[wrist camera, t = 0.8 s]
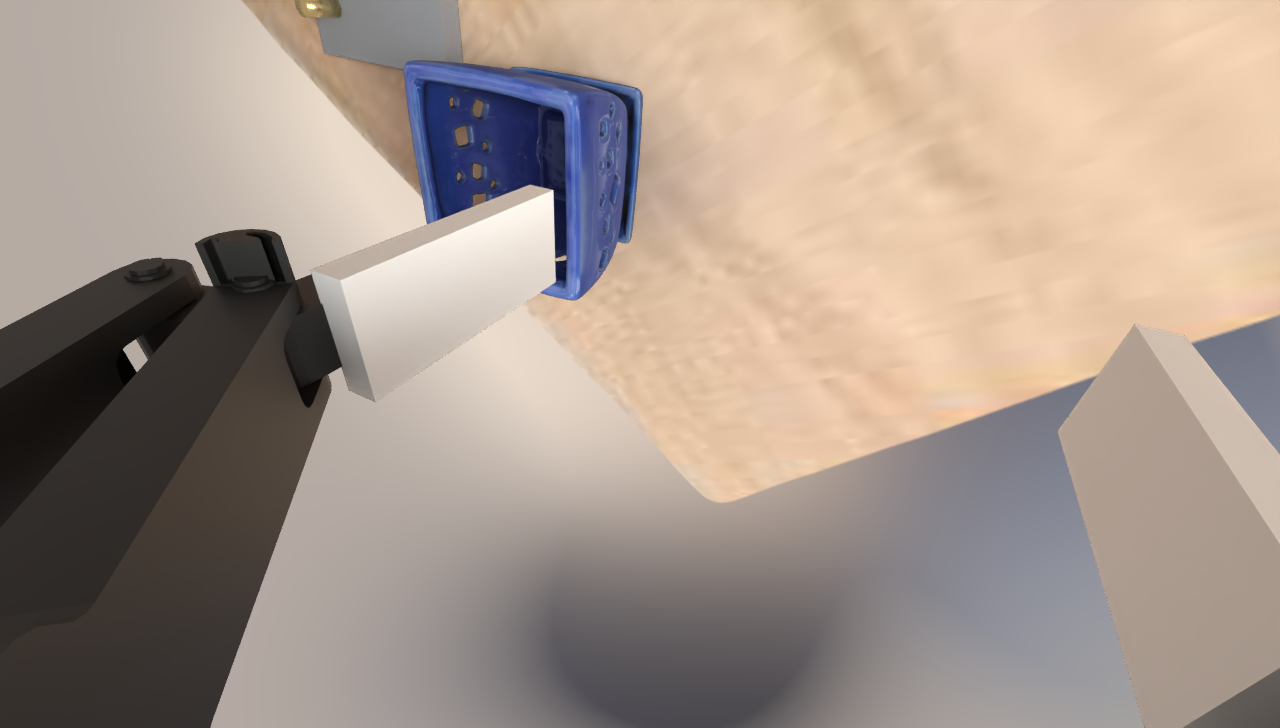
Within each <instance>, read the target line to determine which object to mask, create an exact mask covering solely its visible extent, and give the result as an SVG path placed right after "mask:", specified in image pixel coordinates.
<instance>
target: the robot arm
mask: <svg viewBox="0 0 1280 728" xmlns="http://www.w3.org/2000/svg"><path fill="white" fill-rule="evenodd" d="M195 246H196V248H197V250H198V253H199V255H200V257H201V259H202V262H203V264H204V266H205V268H206V270H207V272H208V275H209V277H210V279H211V281H212V284H213V286H204V285H201V283H200V281H199V279H198V277H197V275H196V272H195V270H194V268H193V266H192V264H190V263H189V262H187V261H185V260H178V259H162V258H151V259H144V260H139V261H137V262H134V263H132V264H130V265H127V266H124V267H122V268H119V269H117V270H114V271H112V272H110V273H108V274H107V275H104V276H102V277H100V278H99V279H97V280H95V281H93V282H91V283H89V284H87V285H85V286H83V287H82V288H79V289H77V290H75V291H74V292H72V293H70V294H68V295H66V296H64V297H62V298H60V299H58V300H56V301H54V302H52V303H50V304H48V305H46V306H45V307H43V308H41V309H39V310H37V311H35V312H33V313H31V314H29V315H27V316H25V317H23V318H22V319H20V320H18V321H16V322H14V323H12V324H10V325H8V326H6V327H4V328H2V329H0V728H210V727H211V723H212V720H213V717H214V714H215V712H216V709H217V706H218V703H219V701H220V698H221V695H222V692H223V689H224V687H225V684H226V681H227V678H228V676H229V673H230V670H231V667H232V665H233V662H234V659H235V656H236V653H237V650H238V648H239V645H240V642H241V639H242V637H243V634H244V631H245V628H246V626H247V623H248V620H249V617H250V615H251V612H252V609H253V606H254V603H255V601H256V598H257V595H258V592H259V590H260V587H261V584H262V581H263V579H264V575H265V573H266V570H267V568H268V565H269V562H270V559H271V556H272V553H273V551H274V548H275V545H276V542H277V540H278V537H279V534H280V532H281V529H282V526H283V523H284V520H285V518H286V515H287V512H288V509H289V507H290V504H291V501H292V498H293V495H294V493H295V490H296V487H297V484H298V482H299V478H300V476H301V473H302V470H303V468H304V465H305V462H306V459H307V457H308V454H309V451H310V448H311V445H312V443H313V440H314V437H315V434H316V432H317V429H318V426H319V423H320V421H321V418H322V415H323V412H324V410H325V407H326V404H327V401H328V398H329V395H330V393H331V382H330V379H329V376H328V374H329V373H331V372H333V371H335V370H336V369H338V368H340V367H342V370H343V373H344V376H345V380H346V383H347V386H348V389H349V391H352V392H354V393H356V394H358V395H361V396H363V397H365V398H367V399H369V400H372V401H374V402H377V401H378V400H380V399H381V398H382V397H384V396H385V395H387V394H389V393H390V392H392V391H393V390H395V389H396V388H398V387H399V386H400V385H402V384H404V383H405V382H407V381H408V380H409V379H411V378H412V377H414V376H416V375H417V374H419V373H420V372H422V371H423V370H425V369H426V368H428V367H429V366H431V365H432V364H433V363H435V362H437V361H438V360H440V359H441V358H443V357H444V356H446V355H447V354H449V353H450V352H452V351H453V350H454V349H456V348H458V347H459V346H461V345H462V344H463V343H465V342H467V341H468V340H470V339H471V338H473V337H474V336H476V335H477V334H479V333H480V332H482V331H483V330H485V329H486V328H488V327H489V326H490V325H492V324H494V323H495V322H496V321H498V320H500V319H501V318H503V317H504V316H505V315H507V314H509V313H510V312H512V311H513V310H514V309H516V308H518V307H519V306H521V305H522V304H524V303H525V302H527V301H528V300H530V299H531V298H533V297H534V296H536V295H537V294H539V293H540V292H542V291H543V290H545V289H546V288H548V287H549V286H551V285H552V284H554V283H555V282H556V273H555V235H554V197H553V190H551V189H546V188H542V187H538V186H533V185H528V186H525V187H523V188H520V189H518V190H515V191H513V192H510V193H507V194H505V195H502V196H500V197H497V198H494V199H492V200H489V201H487V202H484V203H481V204H479V205H476V206H474V207H471V208H469V209H466V210H463V211H461V212H458V213H456V214H453V215H450V216H448V217H445V218H443V219H440V220H438V221H435V222H432V223H430V224H427V225H425V226H422V227H420V228H417V229H414V230H412V231H409V232H407V233H404V234H401V235H399V236H396V237H394V238H391V239H389V240H386V241H383V242H381V243H379V244H376V245H373V246H371V247H368V248H365V249H363V250H360V251H357V252H355V253H352V254H350V255H347V256H345V257H342V258H339V259H337V260H334V261H332V262H329V263H327V264H324V265H321V266H319V267H316V268H313V269H311V270H310V271H311V275H309V276H306V277H304V278H301V279H298V280H295V277H294V275H293V272H292V269H291V266H290V263H289V260H288V257H287V254H286V251H285V248H284V245H283V242H282V240H281V237H280V236H279V235H278V234H276V233H275V232H272V231H267V230H258V229H257V230H256V229H246V230H234V231H229V232H223V233H218V234H215V235H212V236H209V237H206V238H204V239H202V240H200V241H198V242H197V243H195ZM135 339H136V340H137V342H138V343H139V345H140V347H141V349H142V350H143V352H144V354H145V355H146V357H147V359H148V361H147V362H146V363H145V364H144V365H143V366H142V368H141V369H140V370H139V371H138V372H136V371H135V369H134V367H133V366H132V364H131V362H130V361H129V359H128V357H127V356H126V354H125V352H124V351H123V348H124V347H125V346H126V345H128V344H129V343H131V342H132V341H134V340H135ZM1058 434H1059V438H1060V441H1061V444H1062V448H1063V451H1064V455H1065V458H1066V462H1067V465H1068V469H1069V472H1070V475H1071V479H1072V482H1073V486H1074V489H1075V492H1076V496H1077V499H1078V503H1079V506H1080V510H1081V513H1082V516H1083V520H1084V523H1085V527H1086V530H1087V533H1088V537H1089V540H1090V544H1091V547H1092V550H1093V554H1094V557H1095V560H1096V564H1097V567H1098V571H1099V574H1100V578H1101V581H1102V584H1103V588H1104V591H1105V594H1106V598H1107V601H1108V605H1109V608H1110V612H1111V615H1112V618H1113V622H1114V625H1115V628H1116V632H1117V635H1118V639H1119V642H1120V646H1121V649H1122V652H1123V656H1124V659H1125V663H1126V666H1127V670H1128V673H1129V676H1130V680H1131V683H1132V686H1133V690H1134V693H1135V697H1136V700H1137V704H1138V707H1139V710H1140V714H1141V717H1142V721H1143V724H1144V728H1280V455H1279V453H1278V452H1277V451H1276V450H1275V448H1274V447H1273V446H1272V445H1271V444H1270V442H1269V441H1268V440H1267V438H1266V437H1265V436H1264V435H1263V434H1262V432H1261V431H1260V430H1259V428H1258V427H1257V426H1256V425H1255V423H1254V422H1253V421H1252V420H1251V418H1250V417H1249V416H1248V414H1247V413H1246V412H1245V411H1244V409H1243V408H1242V407H1241V406H1240V404H1239V403H1238V402H1237V401H1236V400H1235V398H1234V397H1233V396H1232V394H1231V393H1230V392H1229V391H1228V389H1227V388H1226V387H1225V386H1224V384H1223V383H1222V382H1221V381H1220V379H1219V378H1218V377H1217V376H1216V374H1215V373H1214V372H1213V370H1212V369H1211V368H1210V367H1209V365H1208V364H1207V363H1206V362H1205V360H1204V359H1203V358H1202V357H1201V356H1200V354H1199V353H1198V352H1197V351H1196V349H1195V348H1194V347H1193V345H1192V344H1191V343H1190V342H1189V340H1188V339H1187V338H1186V337H1185V335H1180V334H1176V333H1172V332H1167V331H1163V330H1159V329H1154V328H1150V327H1146V326H1141V325H1137V324H1135V325H1134V326H1133V327H1132V329H1131V330H1130V331H1129V333H1128V334H1127V336H1126V337H1125V338H1124V340H1123V341H1122V343H1121V344H1120V345H1119V347H1118V348H1117V350H1116V351H1115V352H1114V354H1113V355H1112V356H1111V358H1110V359H1109V361H1108V362H1107V363H1106V365H1105V366H1104V368H1103V369H1102V370H1101V372H1100V373H1099V375H1098V376H1097V377H1096V379H1095V380H1094V381H1093V383H1092V384H1091V386H1090V387H1089V388H1088V390H1087V391H1086V393H1085V394H1084V395H1083V397H1082V398H1081V400H1080V401H1079V402H1078V404H1077V405H1076V407H1075V408H1074V410H1073V411H1072V412H1071V414H1070V415H1069V416H1068V418H1067V419H1066V420H1065V422H1064V423H1063V425H1062V426H1061V427H1060V429H1059V430H1058Z"/></svg>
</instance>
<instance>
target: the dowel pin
mask: <svg viewBox="0 0 1280 728" xmlns="http://www.w3.org/2000/svg"><path fill="white" fill-rule="evenodd" d="M295 2H296V7H297V10H298V12H299V13H300V15H301V16H303V17H317V18H340V17H341V15H342V9H341V5H340V3H339V2H338V0H296V1H295Z"/></svg>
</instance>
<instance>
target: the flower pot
mask: <svg viewBox="0 0 1280 728" xmlns="http://www.w3.org/2000/svg"><path fill="white" fill-rule="evenodd" d="M404 77H405V87H406V96H407V104H408V111H409V118H410V125H411V132H412V138H413V145H414V152H415V157H416V163H417V169H418V174H419V181H420V186H421V192H422V198H423V204H424V210H425V215H426V221H427V224H430V223H432V222H435V221H438V220H440V219H443V218H445V217H448V216H450V215H453V214H456V213H458V212H461V211H463V210H466V209H469V208H471V207H473V195H475V194H483V193H486V200H485V202H487V201H489V200H492V199H494V198H497V197H500V196H502V195H505V194H507V193H510V192H513V191H515V190H518V189H520V188H523V187H525V186H528V185H533V186H538V187H542V188H546V189H551V190H553V197H554V235H555V258H558V257H561V256H565V255H567V260H564V261H557V262H556V261H555V273H556V282H555V283H554V284H552V285H551V286H549V287H548V288H546V289H545V290H543V291H542V292H540V293H543V294H546V295H549V296H553V297H557V298H561V299H566V300H577V299H579V298H581V297H582V296H583V295H584V294H585V293H586V292H587V291H588V290H589V289H590V288H591V287H592V286H593V285H594V284H595V283H596V281H597V280H598V279H599V278H600V276H601V275H602V274H603V272H604V271H605V269H606V267H607V265H608V264H609V262H610V260H611V258H612V255H613V253H614V250H615V248H616V244H617V242H621V243H629V242H630V240H631V237H632V230H633V220H634V211H635V200H636V190H637V178H638V167H639V155H640V140H641V125H642V108H643V96H642V92H641V91H640V90H639V89H637V88H634V87H630V86H626V85H621V84H616V83H610V82H605V81H601V80H596V79H591V78H586V77H581V76H575V75H569V74H563V73H557V72H551V71H545V70H539V69H533V68H525V67H512V68H511V69H504V68H497V67H489V66H482V65H474V64H465V63H455V62H445V61H429V60H413V61H408V62H407V63H406V64H405V67H404ZM451 97H453V106H452V107H450V104H449V99H450V98H451ZM476 99H478V100H480V101H482V102H483V111H482V114H481V116H480V118H478V117H476V116H474V114H473V112H472V108H473V105H474V103H475V100H476ZM465 125H466V127H467V133H468V139H469V142H468V143H467V144H466V145H462V146H458V145H457V142H456V137H455V129H457V128H458V127H462V126H465ZM483 142H486V143H487V147H486V150H484V149H483V146H482V145H483ZM474 163H475V164H480V165H481V167H482V170H481V177H480V178H479V179H475V178H473V172H472V169H473V168H472V167H473V164H474ZM458 172H459V173H460V174H461V178H460V179H459V181H458V180H457V174H458ZM492 180H494V181H495V185H494V186H493V187H492V188H491V183H492Z"/></svg>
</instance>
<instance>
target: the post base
mask: <svg viewBox="0 0 1280 728" xmlns="http://www.w3.org/2000/svg"><path fill="white" fill-rule="evenodd" d="M338 2H339V3H340V5H341V9H342V15H341V17H340V18H317V17H316V18H317V23H318V27H319V32H320V36H321V41H322V45H323V50H324V54H329V55H334V56H339V57H344V58H349V59H354V60H359V61H364V62H369V63H374V64H379V65H384V66H389V67H394V68H399V69H404V67H405V64H406V63H407V62H408V61H413V60H429V61H445V62H455V63H463V58H462V46H461V35H460V23H459V12H458V1H457V0H338Z"/></svg>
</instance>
